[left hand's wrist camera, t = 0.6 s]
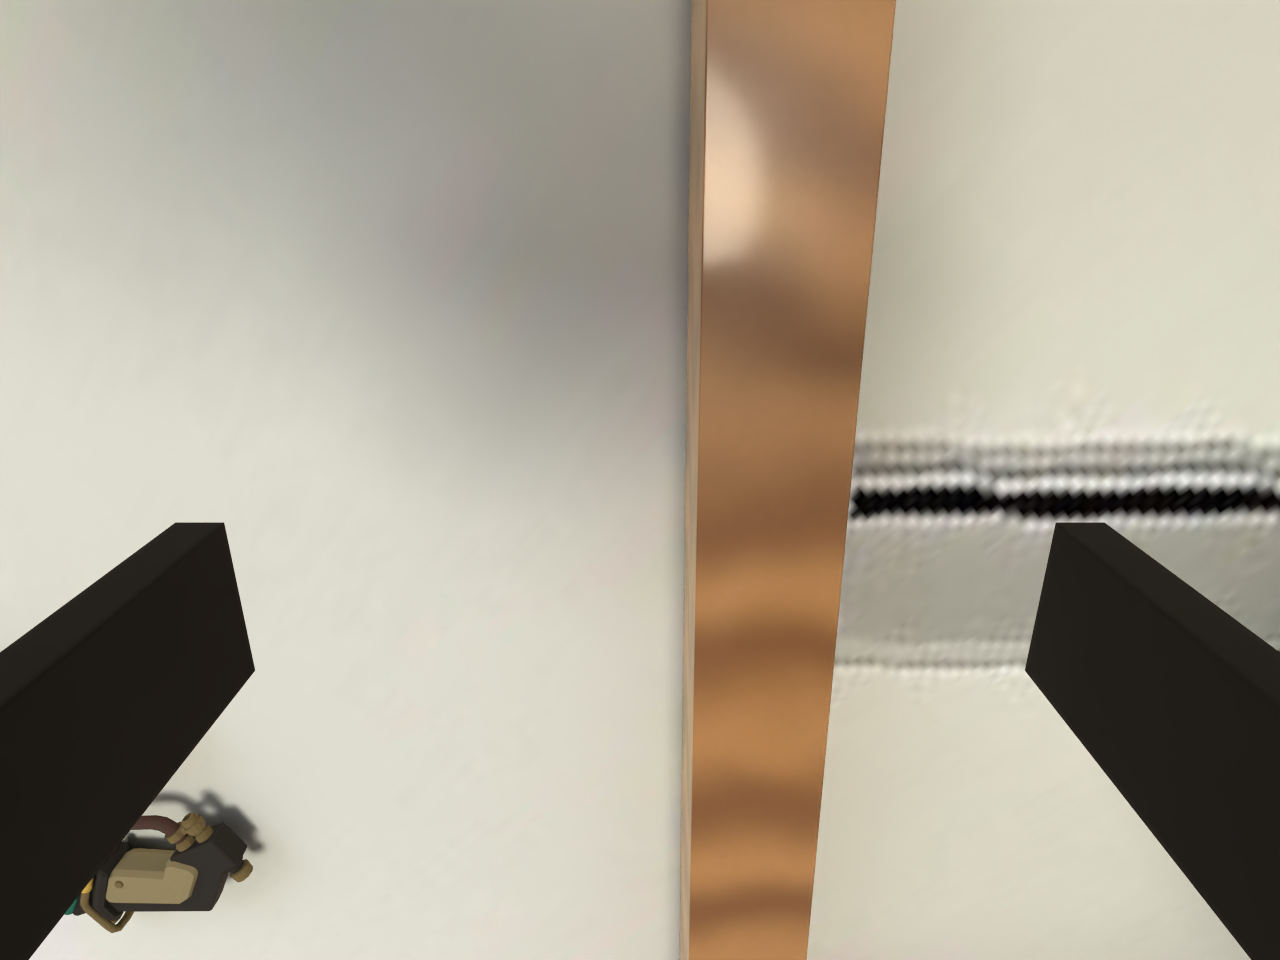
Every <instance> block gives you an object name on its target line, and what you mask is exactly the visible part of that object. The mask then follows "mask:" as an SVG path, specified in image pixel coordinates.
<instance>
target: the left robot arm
mask: <svg viewBox="0 0 1280 960" xmlns="http://www.w3.org/2000/svg"><path fill="white" fill-rule="evenodd" d="M254 671H255V668H254V663H253V658H252V654H251V649H250V644H249V639H248V635H247V630H246V625H245V620H244V615H243V611H242V606H241V601H240V596H239V592H238V587H237V582H236V577H235V573H234V568H233V563H232V558H231V553H230V549H229V544H228V539H227V534H226V530H225V525H224V523H174V524H173V525H172V526H170V527H169V528H168V529H166V530H165V531H164V532H162V533H161V534H160V535H158V536H157V537H156V538H154V539H153V540H151V541H150V542H149V543H147V544H146V545H145V546H143V547H142V548H141V549H139V550H138V551H137V552H135V553H134V554H133V555H131V556H130V557H129V558H127V559H126V560H124V561H123V562H122V563H120V564H119V565H118V566H116V567H115V568H114V569H112V570H111V571H110V572H108V573H107V574H106V575H104V576H103V577H102V578H100V579H99V580H97V581H96V582H95V583H93V584H92V585H91V586H89V587H88V588H87V589H85V590H84V591H83V592H81V593H80V594H79V595H77V596H76V597H75V598H73V599H72V600H70V601H69V602H68V603H66V604H65V605H64V606H62V607H61V608H60V609H58V610H57V611H56V612H54V613H53V614H52V615H50V616H49V617H48V618H46V619H45V620H43V621H42V622H41V623H39V624H38V625H37V626H35V627H34V628H33V629H31V630H30V631H29V632H27V633H26V634H25V635H23V636H22V637H21V638H19V639H18V640H16V641H15V642H14V643H12V644H11V645H10V646H8V647H7V648H6V649H4V650H3V651H2V652H0V960H29V959H30V957H31V956H32V955H33V953H34V952H35V951H36V950H37V948H38V947H39V946H40V944H41V943H42V942H43V941H44V939H45V938H46V937H47V936H48V934H49V933H50V932H51V930H52V929H53V928H54V927H55V925H56V924H57V923H58V921H59V920H60V919H61V918H62V916H63V915H64V914H65V913H66V911H67V910H68V909H69V907H70V906H71V905H72V904H73V902H74V901H75V900H76V898H77V897H78V896H79V895H80V893H81V892H82V891H83V890H84V888H85V887H86V886H87V884H88V883H89V882H90V881H91V879H92V878H93V877H94V875H95V874H96V873H97V872H98V870H99V869H100V868H101V867H102V865H103V864H104V863H105V861H106V860H107V859H108V858H109V856H110V855H111V854H112V852H113V851H114V850H115V849H116V847H117V846H118V845H119V844H120V842H121V841H122V840H123V838H124V837H125V836H126V835H127V833H128V832H129V831H130V830H131V828H132V827H133V826H134V824H135V823H136V822H137V821H138V819H139V818H140V817H141V815H142V814H143V813H144V812H145V810H146V809H147V808H148V807H149V805H150V804H151V803H152V801H153V800H154V799H155V798H156V796H157V795H158V794H159V792H160V791H161V790H162V789H163V787H164V786H165V785H166V784H167V782H168V781H169V780H170V778H171V777H172V776H173V775H174V773H175V772H176V771H177V769H178V768H179V767H180V766H181V764H182V763H183V762H184V761H185V759H186V758H187V757H188V755H189V754H190V753H191V752H192V750H193V749H194V748H195V746H196V745H197V744H198V743H199V741H200V740H201V739H202V738H203V736H204V735H205V734H206V732H207V731H208V730H209V729H210V727H211V726H212V725H213V723H214V722H215V721H216V720H217V718H218V717H219V716H220V715H221V713H222V712H223V711H224V709H225V708H226V707H227V706H228V704H229V703H230V702H231V700H232V699H233V698H234V697H235V695H236V694H237V693H238V692H239V690H240V689H241V688H242V686H243V685H244V684H245V683H246V681H247V680H248V679H249V677H250V676H251V675H252V674H253V672H254ZM1025 671H1026V672H1027V674H1028V675H1029V676H1030V677H1031V679H1032V680H1033V681H1034V683H1035V684H1036V685H1037V686H1038V688H1039V689H1040V690H1041V692H1042V693H1043V694H1044V695H1045V697H1046V698H1047V699H1048V700H1049V702H1050V703H1051V704H1052V706H1053V707H1054V708H1055V709H1056V711H1057V712H1058V713H1059V715H1060V716H1061V717H1062V718H1063V720H1064V721H1065V722H1066V723H1067V725H1068V726H1069V727H1070V729H1071V730H1072V731H1073V732H1074V734H1075V735H1076V736H1077V738H1078V739H1079V740H1080V741H1081V743H1082V744H1083V745H1084V746H1085V748H1086V749H1087V750H1088V752H1089V753H1090V754H1091V755H1092V757H1093V758H1094V759H1095V761H1096V762H1097V763H1098V764H1099V766H1100V767H1101V768H1102V769H1103V771H1104V772H1105V773H1106V775H1107V776H1108V777H1109V778H1110V780H1111V781H1112V782H1113V784H1114V785H1115V786H1116V787H1117V789H1118V790H1119V791H1120V792H1121V794H1122V795H1123V796H1124V798H1125V799H1126V800H1127V801H1128V803H1129V804H1130V805H1131V807H1132V808H1133V809H1134V810H1135V812H1136V813H1137V814H1138V815H1139V817H1140V818H1141V819H1142V821H1143V822H1144V823H1145V824H1146V826H1147V827H1148V828H1149V830H1150V831H1151V832H1152V833H1153V835H1154V836H1155V837H1156V838H1157V840H1158V841H1159V842H1160V844H1161V845H1162V846H1163V847H1164V849H1165V850H1166V851H1167V852H1168V854H1169V855H1170V856H1171V858H1172V859H1173V860H1174V861H1175V863H1176V864H1177V865H1178V867H1179V868H1180V869H1181V870H1182V872H1183V873H1184V874H1185V875H1186V877H1187V878H1188V879H1189V881H1190V882H1191V883H1192V884H1193V886H1194V887H1195V888H1196V890H1197V891H1198V892H1199V893H1200V895H1201V896H1202V897H1203V898H1204V900H1205V901H1206V902H1207V904H1208V905H1209V906H1210V907H1211V909H1212V910H1213V911H1214V913H1215V914H1216V915H1217V916H1218V918H1219V919H1220V920H1221V921H1222V923H1223V924H1224V925H1225V927H1226V928H1227V929H1228V930H1229V932H1230V933H1231V934H1232V936H1233V937H1234V938H1235V939H1236V941H1237V942H1238V943H1239V944H1240V946H1241V947H1242V948H1243V950H1244V951H1245V952H1246V953H1247V955H1248V956H1249V957H1250V959H1251V960H1280V652H1278V651H1277V650H1276V649H1274V648H1273V647H1272V646H1270V645H1269V644H1268V643H1266V642H1265V641H1264V640H1262V639H1261V638H1259V637H1258V636H1257V635H1255V634H1254V633H1253V632H1251V631H1250V630H1249V629H1247V628H1246V627H1245V626H1243V625H1242V624H1241V623H1239V622H1238V621H1237V620H1235V619H1234V618H1232V617H1231V616H1230V615H1228V614H1227V613H1226V612H1224V611H1223V610H1222V609H1220V608H1219V607H1218V606H1216V605H1215V604H1214V603H1212V602H1211V601H1210V600H1208V599H1207V598H1205V597H1204V596H1203V595H1201V594H1200V593H1199V592H1197V591H1196V590H1195V589H1193V588H1192V587H1191V586H1189V585H1188V584H1187V583H1185V582H1184V581H1183V580H1181V579H1180V578H1178V577H1177V576H1176V575H1174V574H1173V573H1172V572H1170V571H1169V570H1168V569H1166V568H1165V567H1164V566H1162V565H1161V564H1160V563H1158V562H1157V561H1156V560H1154V559H1153V558H1151V557H1150V556H1149V555H1147V554H1146V553H1145V552H1143V551H1142V550H1141V549H1139V548H1138V547H1137V546H1135V545H1134V544H1133V543H1131V542H1130V541H1129V540H1127V539H1126V538H1124V537H1123V536H1122V535H1120V534H1119V533H1118V532H1116V531H1115V530H1114V529H1112V528H1111V527H1110V526H1108V525H1107V524H1106V523H1056V525H1055V530H1054V534H1053V539H1052V544H1051V549H1050V553H1049V558H1048V563H1047V568H1046V573H1045V577H1044V582H1043V587H1042V592H1041V596H1040V601H1039V606H1038V611H1037V615H1036V620H1035V625H1034V630H1033V635H1032V639H1031V644H1030V649H1029V654H1028V658H1027V663H1026V668H1025Z"/></svg>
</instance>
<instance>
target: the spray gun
mask: <svg viewBox="0 0 1280 960" xmlns="http://www.w3.org/2000/svg"><path fill="white" fill-rule="evenodd" d="M140 829H152V830H158V831H161V832H163V833H164V834H166V835H165V839H166V840H167V841H168V842H169V843H171V844H174V843H176V849H175V850H160V849H143V848H135V849H132V850H130V851H129V845H128V844H127V843H126V842H125V843H122V844H119V845H118V846H117V848H116V849H115V850H114V851H113V852H112V854H111V855H110V856H109V858H108V859H107V860H106V861H105V863H104V864H103V865H102V867H101V868H100V869H99V870H98V872H97V873H96V874H95V875H94V877H93V878H92V879H91V881H90V882H89V883H88V884H87V886H86V887H85V888H84V890H83V891H82V892H81V893H80V895H79V896H78V897H77V898H76V900H75V901H74V902H73V904H72V905H71V906H70V907H69V909H68V910H67V911H66V913H65V915H70V914H72V913H73V914H74V915H77V916H78V915H81V914H84V913H87V914H88V915H89V916H91V917H92V918H93V919H94V920H95V921H96V922H98V923H99V924H100V925H101V926H102V927H104V928H105V929H106V930H108V931H109V932H111V933H114V932H118V931H121V930H122V928H123V927H124V926H125V925H126V923H127V922H128V921H129V920H130V918H131V916H132V915H133V913H134V911H210V910H212V909H213V907H214V905H215V904H216V902H217V901H218V899H219V897H220V895H221V893H222V891H223V888H224V885H225V882H226V879H227V876H228V873H229V872H231V874H230V877H232V878H233V879H234V880H236V881H237V882H241V881H243V880H245V879H246V878H247V877H248V876H249V875H250V873H251V872H252V870H253V866H252V865H251V864H250V862H249V861H248V860H242V859H243V854H244V852H245V850H246V848H247V845H246V844H245V843H244V842H243V841H242V840H241V839H240V838H239V837H238V836H237V835H236V834H235V833H234V832H233V831H232V830H231V829H230V828H229V827H228V826H227V825H226V824H225V823H224V822H222V823H219V824H217V825H214V826H212V827H210V826H206V823H205V820H204V819H203V818H202V817H201V816H200V815H197V814H196V813H195V812H193V813H189V814H188V815H186V816H185V817H184V819H183V820H182V822H179V823H176V822H175V821H173V820H171V819H169V818H167V817H163V816H157V815H153V816H141V817H140V818H139V819H138V821H137V822H136V823H135V824H134V826H133V827H132V828H131V830H140ZM123 911H126V913H125V914H124V916H123V917H122V919H121V920H120V921H119V922H118V924H116V925H115V923H116V922H117V921H118V920H119V919H120V917H121V916H122V914H123Z"/></svg>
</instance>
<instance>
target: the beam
mask: <svg viewBox="0 0 1280 960" xmlns="http://www.w3.org/2000/svg"><path fill="white" fill-rule="evenodd" d="M895 5H896V0H692V5H691V84H690V163H689V241H688V320H687V398H686V477H685V555H684V634H683V713H682V791H681V870H680V948H679V960H806V958H807V947H808V936H809V925H810V915H811V904H812V893H813V883H814V872H815V861H816V851H817V840H818V829H819V818H820V808H821V797H822V786H823V776H824V765H825V754H826V743H827V733H828V722H829V711H830V701H831V690H832V679H833V669H834V658H835V647H836V636H837V626H838V615H839V604H840V594H841V583H842V572H843V561H844V551H845V540H846V529H847V519H848V508H849V497H850V487H851V476H852V465H853V454H854V444H855V433H856V422H857V412H858V401H859V390H860V380H861V369H862V358H863V347H864V337H865V326H866V315H867V305H868V294H869V283H870V272H871V262H872V251H873V240H874V230H875V219H876V208H877V198H878V187H879V176H880V165H881V155H882V144H883V133H884V123H885V112H886V101H887V90H888V80H889V69H890V58H891V48H892V37H893V26H894V16H895Z"/></svg>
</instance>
